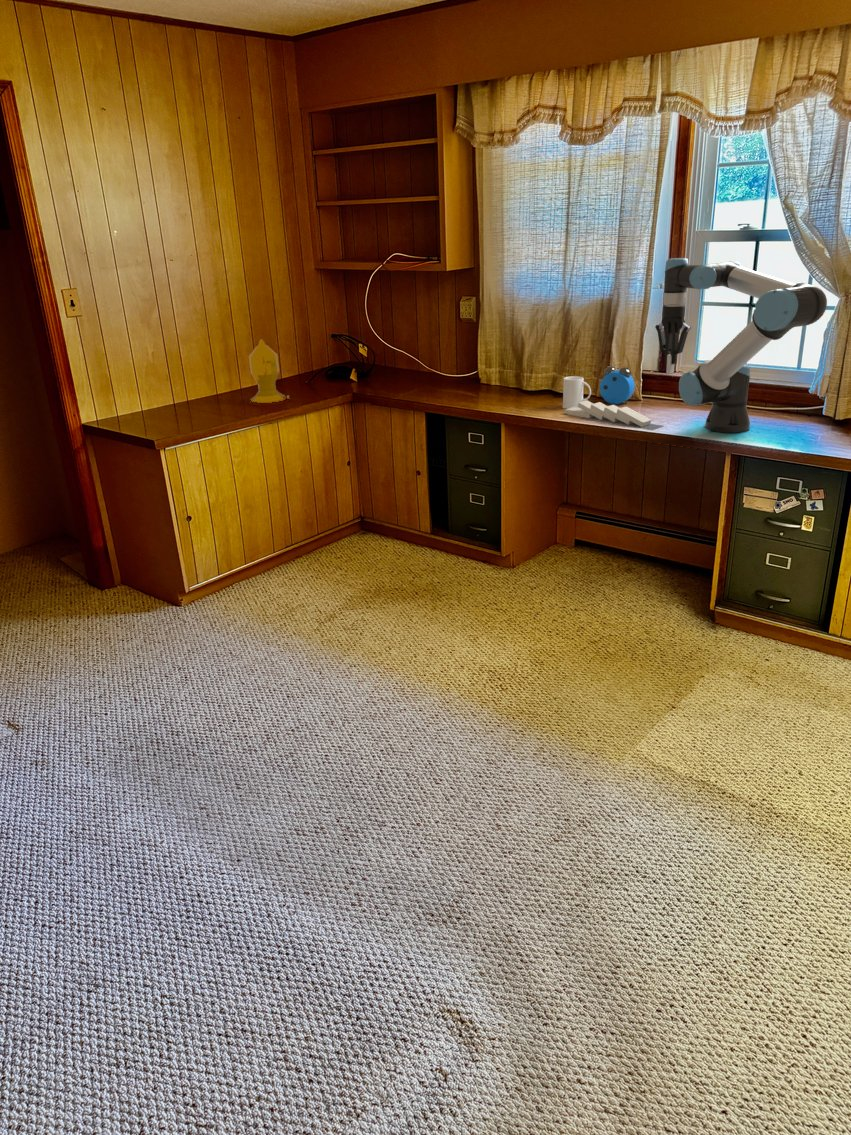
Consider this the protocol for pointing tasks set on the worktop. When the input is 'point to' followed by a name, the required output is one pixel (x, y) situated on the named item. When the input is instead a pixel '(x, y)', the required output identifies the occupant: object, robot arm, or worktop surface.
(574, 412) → the domino
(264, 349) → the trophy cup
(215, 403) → the worktop surface
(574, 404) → the mug
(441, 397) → the worktop surface
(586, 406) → the domino
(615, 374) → the alarm clock
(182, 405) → the worktop surface
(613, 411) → the domino
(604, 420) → the mat
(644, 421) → the domino
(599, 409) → the domino
